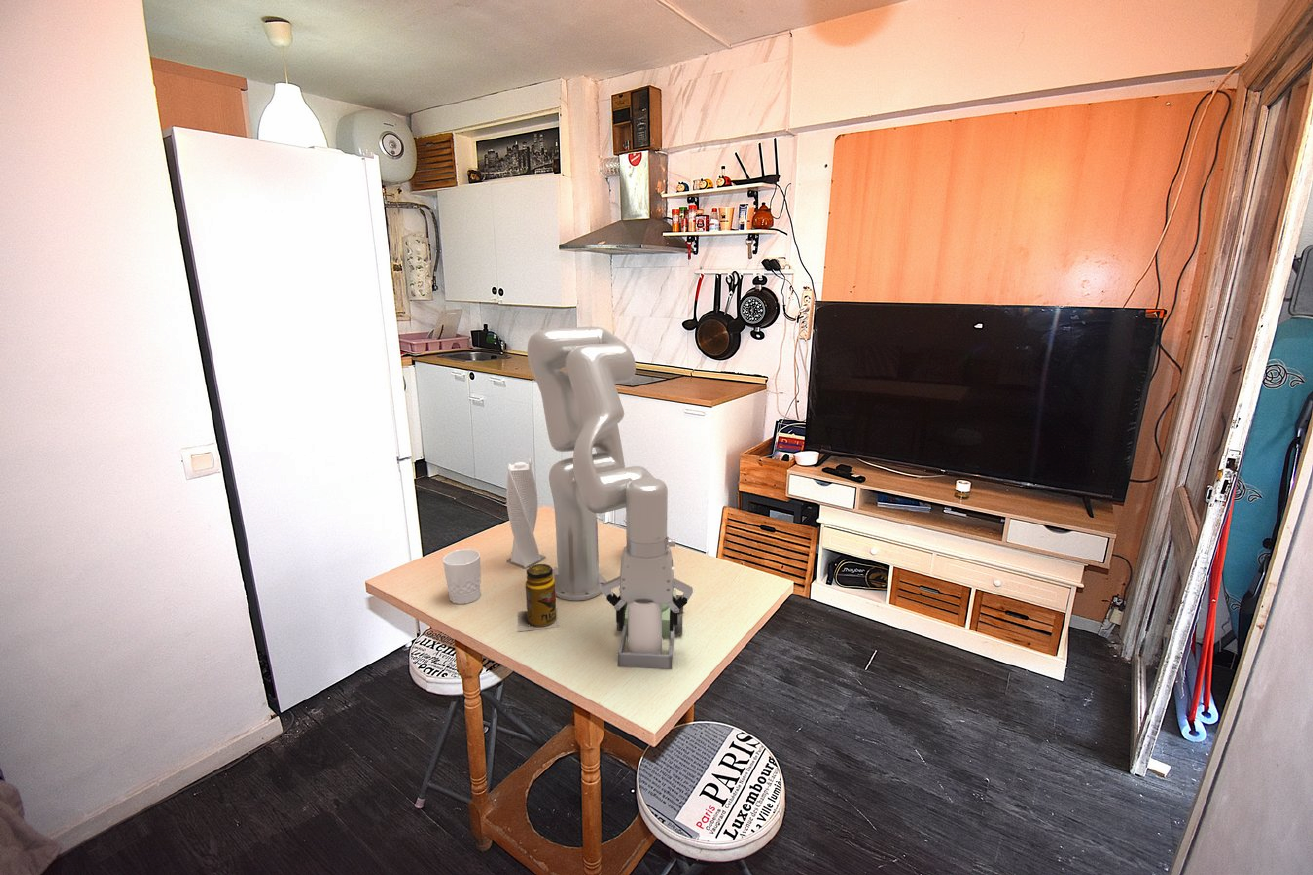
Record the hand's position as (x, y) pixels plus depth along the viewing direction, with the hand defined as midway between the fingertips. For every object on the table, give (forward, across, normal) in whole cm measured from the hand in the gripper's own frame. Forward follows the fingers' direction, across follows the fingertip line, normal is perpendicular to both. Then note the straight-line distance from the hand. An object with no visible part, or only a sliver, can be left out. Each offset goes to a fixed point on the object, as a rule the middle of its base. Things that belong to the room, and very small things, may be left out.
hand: (646, 626), depth 111 cm
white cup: (+6, +43, -17) cm, 46 cm away
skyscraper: (+6, +34, -35) cm, 49 cm away
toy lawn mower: (+5, 0, -6) cm, 8 cm away
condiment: (+6, +24, -9) cm, 26 cm away
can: (+6, 0, 0) cm, 6 cm away
